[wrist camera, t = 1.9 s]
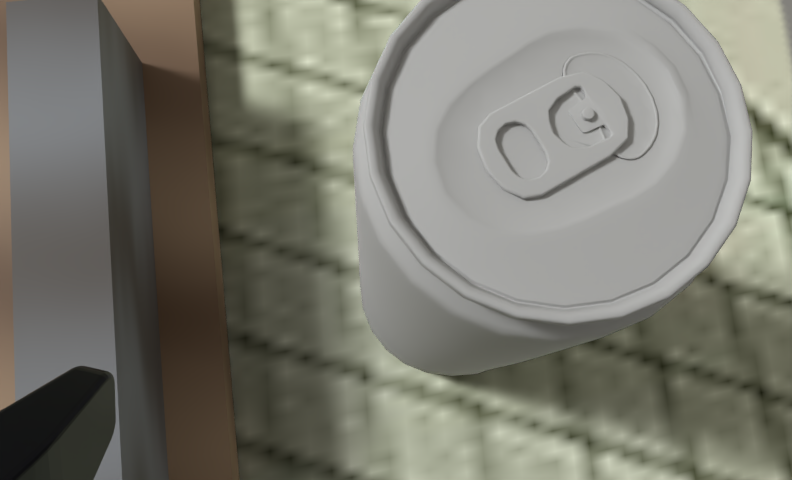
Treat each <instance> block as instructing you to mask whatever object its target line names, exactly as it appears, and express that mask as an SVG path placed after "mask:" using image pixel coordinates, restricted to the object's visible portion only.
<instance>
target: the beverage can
mask: <svg viewBox="0 0 792 480" xmlns="http://www.w3.org/2000/svg"><path fill="white" fill-rule="evenodd" d="M751 158H752V128H751V124H750V119H749V115H748V111H747V107H746V103H745V99H744V95H743V91H742V87H741V84H740V82H739V80H738V78H737V76H736V74H735V72H734V71H733V69H732V67H731V65H730V63H729V61H728V59H727V57H726V56H725V54H724V52H723V50H722V48H721V46H720V44H719V42H718V41H717V40H716V39H715V38H714V37H713V36H712V34H711V33H710V32H709V31H708V30H707V29H706V28H705V27H704V26H703V25H702V23H701V22H700V21H699V20H698V19H697V18H696V17H695V16H694V15H693V14H692V12H691V11H690V10H689V9H688V8H687V7H686V6H685V5H684V4H682V3H681V2H679V1H678V0H421V1H420V2H419V3H418V4H417V5H416V6H415V7H414V9H413V10H412V11H411V12H410V13H409V14H408V16H407V17H406V18H405V19H404V20H403V21H402V23H401V24H400V25H399V26H398V27H397V28H396V30H395V31H394V32H393V33H392V34H391V35H390V38H389V40H388V42H387V44H386V46H385V48H384V51H383V53H382V55H381V57H380V59H379V61H378V63H377V65H376V68H375V70H374V72H373V74H372V76H371V78H370V81H369V83H368V85H367V87H366V89H365V91H364V94H363V96H362V98H361V101H360V107H359V113H358V119H357V126H356V132H355V138H354V145H353V165H354V183H355V201H356V217H357V234H358V251H359V270H360V287H361V296H362V305H363V310H364V312H365V315H366V318H367V320H368V323H369V325H370V328H371V330H372V332H373V333H374V334H375V336H376V337H377V338H378V340H379V341H380V342H381V344H382V345H383V346H384V347H385V349H386V350H387V351H389V352H390V353H391V354H393V355H394V356H395V357H397V358H398V359H399V360H401V361H402V362H403V363H405V364H407V365H409V366H412V367H414V368H417V369H420V370H422V371H425V372H427V373H435V374H442V375H449V376H455V375H468V374H478V373H481V372H484V371H487V370H491V369H494V368H499V367H503V366H507V365H512V364H516V363H520V362H524V361H527V360H531V359H534V358H537V357H541V356H544V355H547V354H551V353H554V352H557V351H560V350H564V349H567V348H570V347H573V346H577V345H580V344H583V343H586V342H590V341H593V340H596V339H599V338H602V337H605V336H607V335H609V334H612V333H614V332H616V331H619V330H621V329H624V328H626V327H628V326H631V325H633V324H635V323H638V322H640V321H643V320H645V319H647V318H649V317H651V316H652V315H654V314H655V313H656V312H657V311H658V310H660V309H661V308H662V307H663V306H665V305H666V304H667V303H668V302H669V301H671V300H672V299H673V298H674V297H676V296H677V295H678V294H679V293H681V292H682V291H683V290H684V289H685V288H687V287H688V286H689V285H690V284H691V283H692V281H693V280H694V278H695V277H696V276H697V275H698V274H700V273H701V272H702V271H703V270H705V269H706V268H707V267H708V266H709V265H710V263H711V262H712V260H713V259H714V257H715V256H716V254H717V253H718V251H719V250H720V249H721V247H722V246H723V244H724V243H725V241H726V240H727V238H728V237H729V235H730V234H731V233H732V231H733V230H734V228H735V227H736V224H737V221H738V218H739V215H740V212H741V209H742V206H743V203H744V200H745V196H746V193H747V190H748V187H749V184H750V181H751Z"/></svg>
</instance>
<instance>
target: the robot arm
mask: <svg viewBox="0 0 792 480" xmlns="http://www.w3.org/2000/svg"><path fill="white" fill-rule="evenodd" d="M115 423H116V409H115V381H114V377H113V375H112V374H111V373H110V372H108V371H105V370H100V369H96V368H92V367H87V366H77V367H74V368H72V369H70V370H68V371H67V372H65V373H63V374H61V375H60V376H58V377H56V378H55V379H53V380H51V381H50V382H48V383H46V384H45V385H43V386H41V387H39V388H38V389H36V390H34V391H33V392H31V393H29V394H28V395H26V396H24V397H23V398H21V399H19V400H17V401H16V402H14V403H12V404H11V405H9V406H7V407H6V408H4V409H2V410H1V411H0V480H94V478H95V475H96V473H97V471H98V468H99V466H100V464H101V462H102V459H103V457H104V455H105V453H106V450H107V448H108V446H109V444H110V441H111V439H112V436H113V433H114V429H115Z"/></svg>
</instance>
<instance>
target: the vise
mask: <svg viewBox="0 0 792 480" xmlns="http://www.w3.org/2000/svg"><path fill="white" fill-rule="evenodd" d="M77 366H87V367H92V368H96V369H100V370H105V371H108V372H110V373H111V374H112V375H113V377H114V381H115V409H116V423H115V429H114V433H113V436H112V439H111V441H110V444H109V446H108V448H107V450H106V453H105V455H104V457H103V459H102V462H101V464H100V466H99V468H98V471H97V473H96V475H95V478H94V480H240V479H239V467H238V455H237V443H236V431H235V419H234V407H233V395H232V383H231V371H230V359H229V347H228V335H227V323H226V311H225V299H224V287H223V275H222V263H221V251H220V239H219V227H218V214H217V202H216V190H215V178H214V166H213V154H212V142H211V130H210V118H209V106H208V94H207V82H206V70H205V58H204V46H203V34H202V22H201V10H200V0H0V411H1V410H2V409H4V408H6V407H7V406H9V405H11V404H12V403H14V402H16V401H17V400H19V399H21V398H23V397H24V396H26V395H28V394H29V393H31V392H33V391H34V390H36V389H38V388H39V387H41V386H43V385H45V384H46V383H48V382H50V381H51V380H53V379H55V378H56V377H58V376H60V375H61V374H63V373H65V372H67V371H68V370H70V369H72V368H74V367H77Z"/></svg>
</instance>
